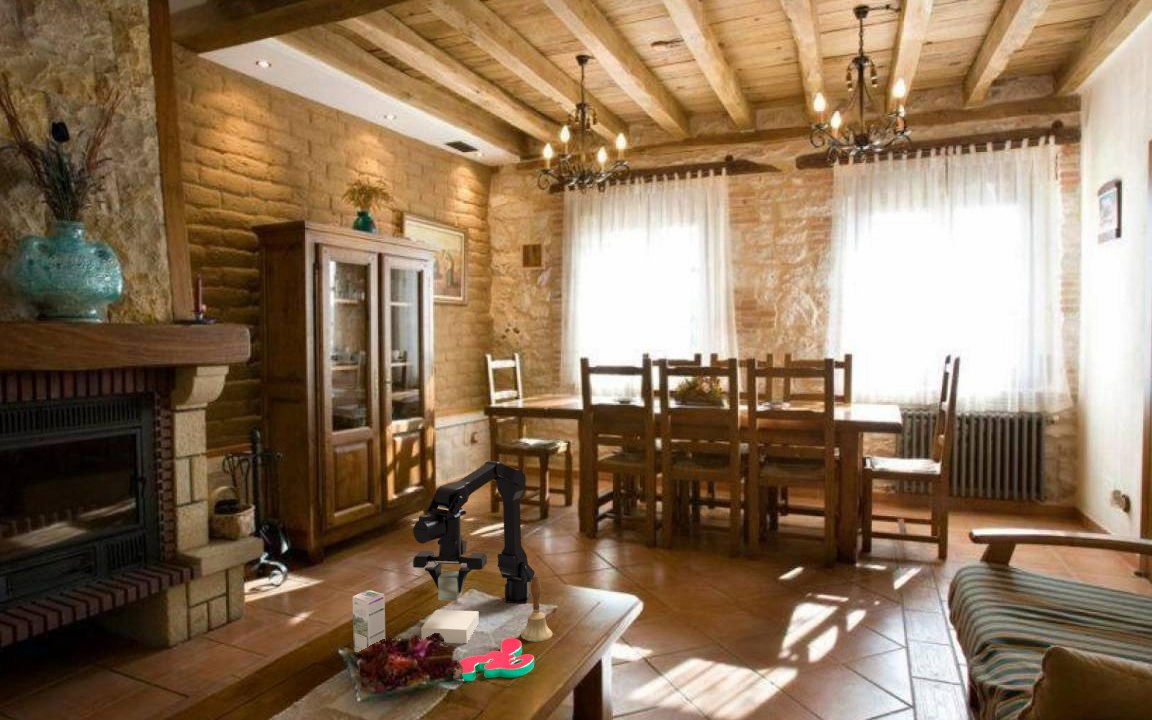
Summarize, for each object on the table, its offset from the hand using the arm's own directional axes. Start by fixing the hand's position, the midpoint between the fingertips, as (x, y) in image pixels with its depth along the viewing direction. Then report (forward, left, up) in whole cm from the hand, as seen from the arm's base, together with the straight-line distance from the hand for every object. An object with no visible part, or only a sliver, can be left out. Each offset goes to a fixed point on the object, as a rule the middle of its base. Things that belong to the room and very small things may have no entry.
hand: (450, 592), depth 184 cm
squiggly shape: (-15, +17, -12) cm, 25 cm away
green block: (0, 0, -1) cm, 1 cm away
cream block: (0, 0, -11) cm, 11 cm away
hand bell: (-23, -1, -11) cm, 26 cm away
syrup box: (+17, +13, -11) cm, 24 cm away
